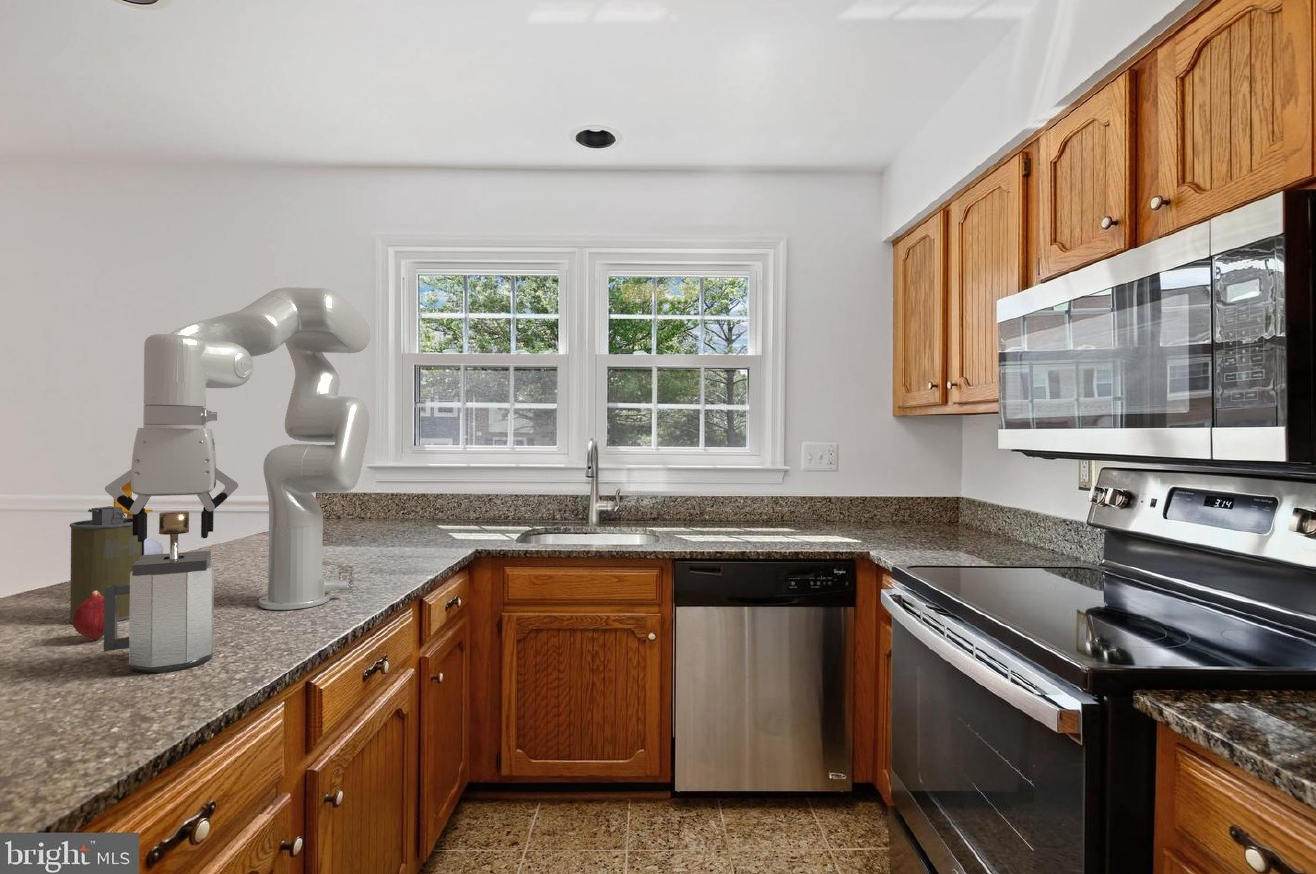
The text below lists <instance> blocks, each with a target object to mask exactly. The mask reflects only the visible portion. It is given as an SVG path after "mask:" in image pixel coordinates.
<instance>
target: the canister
mask: <svg viewBox="0 0 1316 874" xmlns="http://www.w3.org/2000/svg"><path fill="white" fill-rule="evenodd" d="M87 512H89V513H91V519H87V520H81V521H79V520H78V521H75V522H71V523H70V524H69V528H70V598H69V599H70V603H69V605H70V608H69V609H70V613H69V614H70V615H69V618H68V622H69V623H71V624H72V616H73V614H74V612H75V610H76V609H77V608H78V606H79V605H80V604H81V603H83V602H84V601H86V600H87V599H89V598H90V597H91V595H92V592H93V591H98V592H99V593H100V594H101V595H102V596H103V597H104V588H105V587H106V586H107V585H116V584H118V585H120V584H130V573H131V572H132V567H133V564H134V563H135V562H136V561H137V560H138V559H139V558H140V557H141V556H142V555H144V541H143V542H138V536H133V517H127V516H126V514H124V513H123V510H122V508H121V507H114V506H103V507H102V506H99V507H94V508H93V507H91V508H89V509H88V510H87ZM118 611H119V618H118V621H117V622H123V621H127V620H130V594H125V595H118ZM126 619H127V620H126ZM122 620H123V621H122Z"/></svg>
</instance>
